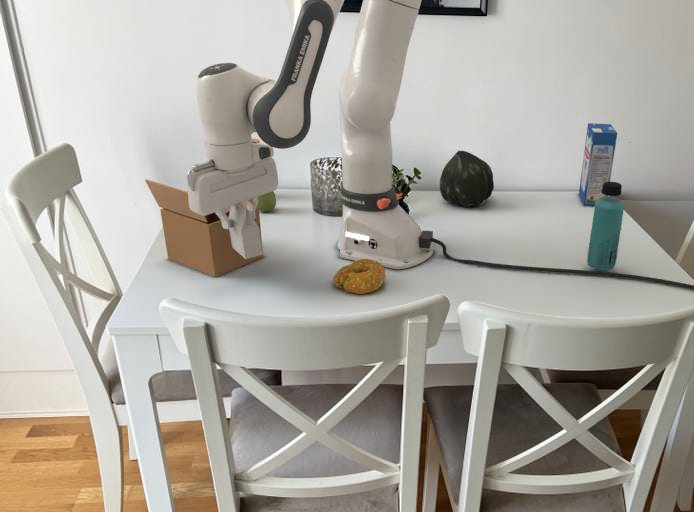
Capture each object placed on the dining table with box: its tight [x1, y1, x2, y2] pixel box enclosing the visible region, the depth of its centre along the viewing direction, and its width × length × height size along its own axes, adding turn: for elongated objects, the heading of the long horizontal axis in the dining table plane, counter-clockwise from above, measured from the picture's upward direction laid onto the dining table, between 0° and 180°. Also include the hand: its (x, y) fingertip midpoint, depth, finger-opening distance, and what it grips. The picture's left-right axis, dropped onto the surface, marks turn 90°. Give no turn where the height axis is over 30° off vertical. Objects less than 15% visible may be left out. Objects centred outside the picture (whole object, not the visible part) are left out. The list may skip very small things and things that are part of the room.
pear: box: [257, 191, 277, 213], centre depth 189 cm, size 6×5×10 cm
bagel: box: [332, 259, 387, 295], centre depth 154 cm, size 10×11×5 cm
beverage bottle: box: [586, 181, 625, 271], centre depth 162 cm, size 6×7×20 cm
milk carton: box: [578, 122, 618, 208], centre depth 204 cm, size 10×6×20 cm, turn 179°
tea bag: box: [228, 203, 264, 259], centre depth 149 cm, size 4×7×10 cm, turn 36°
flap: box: [144, 178, 208, 222], centre depth 151 cm, size 15×7×1 cm
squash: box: [439, 150, 495, 208], centre depth 200 cm, size 14×15×15 cm
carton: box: [159, 201, 264, 278], centre depth 161 cm, size 15×14×12 cm
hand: (239, 223), depth 150 cm, fingers closed on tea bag, 4 cm apart
